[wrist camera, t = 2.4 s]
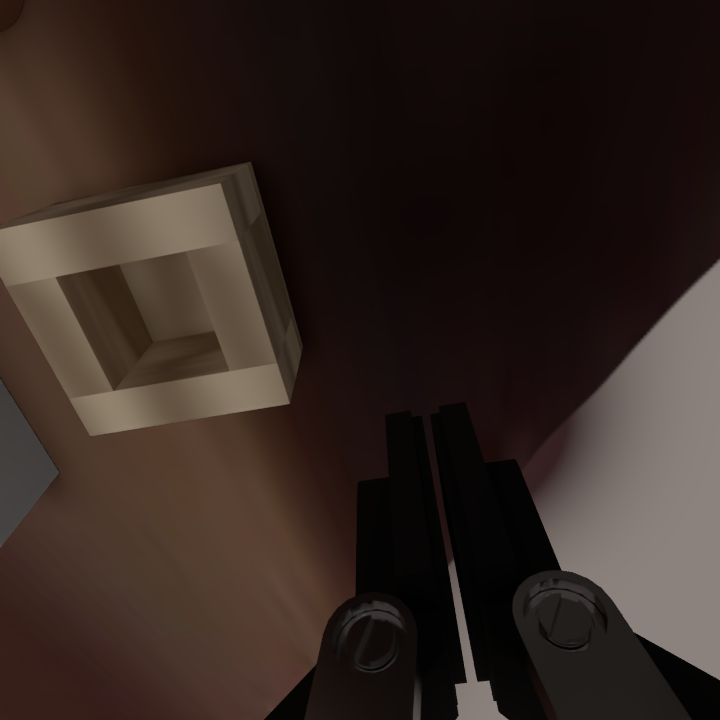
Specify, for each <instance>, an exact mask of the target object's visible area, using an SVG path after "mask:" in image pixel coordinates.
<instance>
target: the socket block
mask: <svg viewBox="0 0 720 720" xmlns="http://www.w3.org/2000/svg"><path fill="white" fill-rule="evenodd" d="M0 277H1V279H2V281H3V283H4V284H5V286H6V288H7V290H8V291H9V293H10V295H11V297H12V299H13V300H14V302H15V304H16V306H17V307H18V309H19V311H20V313H21V314H22V316H23V318H24V320H25V322H26V323H27V325H28V327H29V329H30V330H31V332H32V334H33V336H34V337H35V339H36V341H37V343H38V345H39V346H40V348H41V350H42V352H43V353H44V355H45V357H46V359H47V360H48V362H49V364H50V366H51V368H52V369H53V371H54V373H55V375H56V376H57V378H58V380H59V382H60V383H61V385H62V387H63V389H64V391H65V392H66V394H67V396H68V398H69V399H70V401H71V403H72V405H73V406H74V408H75V410H76V412H77V414H78V415H79V417H80V419H81V421H82V422H83V424H84V426H85V428H86V429H87V431H88V433H89V435H90V436H94V435H100V434H106V433H113V432H119V431H125V430H131V429H137V428H143V427H150V426H156V425H162V424H168V423H174V422H180V421H187V420H193V419H199V418H205V417H211V416H217V415H224V414H230V413H236V412H242V411H248V410H254V409H260V408H267V407H273V406H279V405H285V404H290V401H291V396H292V392H293V388H294V383H295V379H296V375H297V370H298V366H299V362H300V357H301V353H302V348H303V345H302V342H301V338H300V334H299V331H298V327H297V324H296V320H295V317H294V313H293V310H292V306H291V302H290V299H289V295H288V292H287V288H286V285H285V281H284V278H283V274H282V270H281V267H280V263H279V260H278V256H277V253H276V249H275V246H274V242H273V238H272V235H271V231H270V228H269V224H268V221H267V217H266V214H265V210H264V206H263V203H262V199H261V196H260V192H259V189H258V185H257V181H256V178H255V174H254V171H253V167H252V164H251V162H248V163H243V164H238V165H233V166H229V167H224V168H219V169H215V170H210V171H205V172H201V173H196V174H191V175H186V176H182V177H177V178H172V179H168V180H163V181H158V182H153V183H149V184H144V185H139V186H135V187H130V188H125V189H120V190H116V191H111V192H106V193H102V194H97V195H92V196H88V197H83V198H78V199H73V200H69V201H64V202H59V203H55V204H53V205H50V206H48V207H45V208H42V209H40V210H37V211H35V212H32V213H30V214H27V215H25V216H22V217H19V218H17V219H14V220H12V221H9V222H7V223H4V224H2V225H0Z"/></svg>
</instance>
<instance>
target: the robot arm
mask: <svg viewBox="0 0 720 720" xmlns="http://www.w3.org/2000/svg"><path fill="white" fill-rule="evenodd" d="M439 412H440V413H436V414H430V418H431V424H432V431H433V437H434V443H435V450H436V456H437V463H438V469H439V476H440V482H441V488H442V495H443V501H444V508H445V514H446V519H447V525H448V530H449V535H450V541H451V546H452V551H453V556H454V562H455V567H456V572H457V577H458V583H459V588H460V593H461V598H462V604H463V609H464V614H465V619H466V624H467V630H468V634H469V640H470V645H471V650H472V656H473V661H474V667H475V671H476V677H477V681H478V682H480V681H490V686H491V690H492V695H493V700H494V701H496V702H497V706H498V711H499V712H500V713H501V714H502V715H503V716H505V717H506V718H507V719H509V720H720V680H718V679H717V678H715V677H713V676H711V675H709V674H708V673H706V672H704V671H702V670H700V669H698V668H697V667H695V666H693V665H692V664H690V663H688V662H686V661H684V660H682V659H681V658H679V657H677V656H675V655H674V654H672V653H670V652H668V651H666V650H665V649H663V648H661V647H659V646H657V645H656V644H654V643H652V642H650V641H648V640H646V639H645V638H643V637H641V636H640V635H638V634H636V633H634V632H633V631H632V629H631V628H630V626H629V625H628V623H627V622H626V620H625V619H624V617H623V616H622V614H621V613H620V611H619V610H618V608H617V607H616V605H615V604H614V602H613V601H612V600H611V598H610V597H609V596H608V595H607V594H606V593H605V592H604V590H603V589H602V588H601V587H599V586H598V585H596V584H595V583H593V582H592V581H591V580H589V579H588V578H585V577H583V576H580V575H578V574H575V573H573V572H567V571H562V570H561V568H560V566H559V563H558V561H557V558H556V556H555V553H554V551H553V548H552V546H551V543H550V541H549V539H548V536H547V534H546V531H545V529H544V526H543V524H542V522H541V519H540V517H539V514H538V512H537V509H536V507H535V504H534V502H533V500H532V497H531V495H530V492H529V490H528V487H527V485H526V482H525V480H524V478H523V475H522V473H521V470H520V468H519V465H518V463H517V461H516V460H515V459H511V460H504V461H497V462H490V463H484V459H483V456H482V453H481V450H480V447H479V444H478V441H477V438H476V434H475V431H474V428H473V425H472V422H471V419H470V416H469V413H468V410H467V406H466V404H465V402H462V403H456V404H449V405H443V406H439ZM385 421H386V437H387V452H388V468H389V477H386V478H379V479H372V480H366V481H359V482H358V489H357V544H356V596H355V597H353V598H350V599H348V600H347V601H346V602H345V603H343V604H342V605H341V606H339V607H338V608H337V609H336V611H335V612H334V613H333V615H332V616H331V617H330V619H329V620H328V623H327V625H326V628H325V631H324V633H323V638H322V642H321V647H320V651H319V656H318V660H317V664H316V665H315V667H314V668H313V669H312V670H311V671H310V672H309V673H308V674H307V675H306V676H305V677H304V678H303V679H302V680H301V681H300V682H299V683H298V684H297V686H296V687H295V688H294V689H293V690H292V691H291V692H290V693H289V694H288V695H287V696H286V697H285V698H284V699H283V700H282V701H281V702H280V703H279V704H278V706H277V707H276V708H275V709H274V710H273V711H272V712H271V713H270V714H269V715H268V716H267V717H266V718H265V719H264V720H456V719H457V717H458V716H459V715H458V709H457V705H458V702H457V696H456V689H455V684H460V683H467V680H466V674H465V668H464V662H463V656H462V650H461V644H460V637H459V631H458V625H457V619H456V613H455V607H454V601H453V594H452V588H451V583H450V576H449V570H448V564H447V558H446V553H445V547H444V541H443V536H442V530H441V524H440V518H439V513H438V507H437V501H436V495H435V490H434V484H433V478H432V473H431V467H430V461H429V455H428V450H427V444H426V438H425V433H424V427H423V421H422V416H417V417H412V416H411V411H405V412H398V413H392V414H386V415H385Z"/></svg>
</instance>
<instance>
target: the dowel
mask: <svg viewBox="0 0 720 720" xmlns="http://www.w3.org/2000/svg"><path fill="white" fill-rule="evenodd" d="M23 2H24V0H0V32H1V31H4V30H6V29H7V28H9V27H10V26H11V25H13V24H14V22H15V21H16V20H17V18H18V17H19V15H20V13H21V10H22V6H23Z"/></svg>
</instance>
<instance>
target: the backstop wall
mask: <svg viewBox="0 0 720 720" xmlns="http://www.w3.org/2000/svg"><path fill="white" fill-rule="evenodd" d="M58 473H59V471H58V470H57V468H56V467H55V465H54V463H53V462H52V460H51V459H50V457H49V455H48V454H47V452H46V451H45V449H44V447H43V446H42V444H41V443H40V441H39V439H38V438H37V436H36V435H35V433H34V431H33V430H32V428H31V427H30V425H29V424H28V422H27V420H26V419H25V417H24V416H23V414H22V412H21V411H20V409H19V408H18V406H17V404H16V403H15V401H14V400H13V398H12V396H11V395H10V393H9V392H8V390H7V388H6V387H5V385H4V384H3V382H2V380H1V379H0V547H1V546H2V545H3V544H4V542H5V541H6V540H7V539H8V537H9V536H10V535H11V533H12V532H13V531H14V530H15V528H16V527H17V526H18V524H19V523H20V522H21V521H22V519H23V518H24V517H25V516H26V514H27V513H28V512H29V510H30V509H31V508H32V507H33V505H34V504H35V503H36V502H37V500H38V499H39V498H40V496H41V495H42V494H43V493H44V491H45V490H46V489H47V488H48V486H49V485H50V484H51V482H52V481H53V480H54V479H55V477H56V476H57V475H58Z"/></svg>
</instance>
